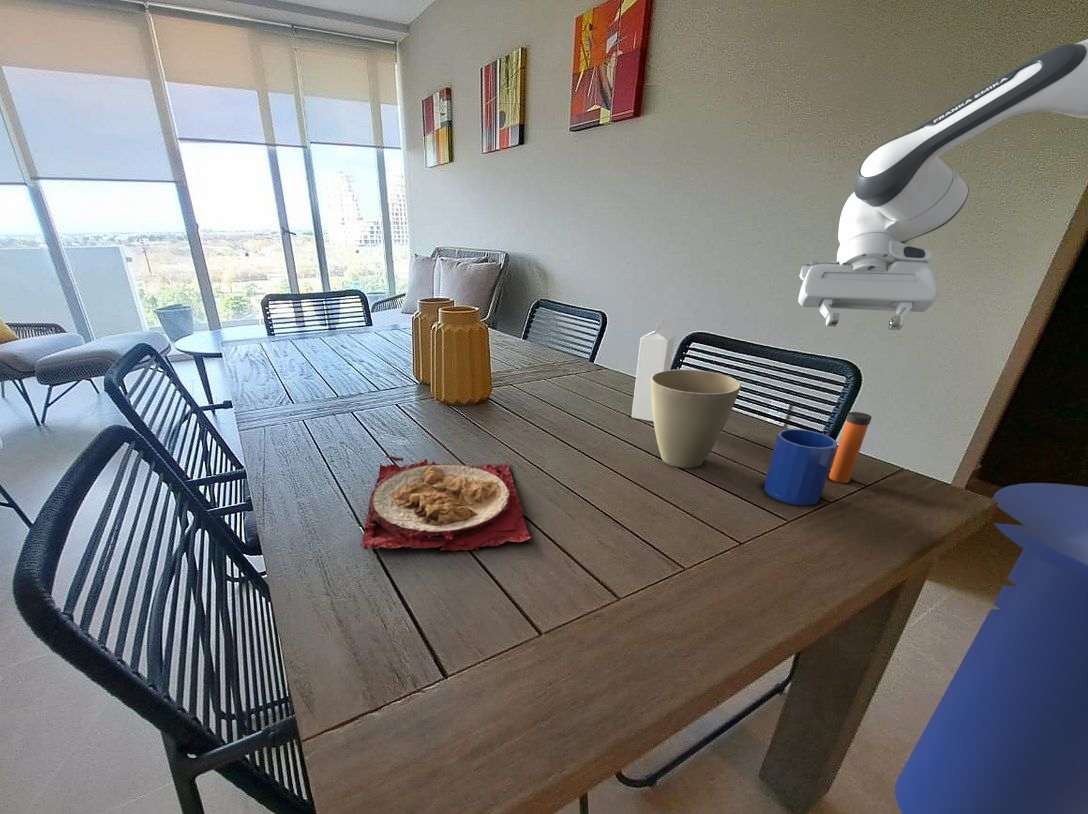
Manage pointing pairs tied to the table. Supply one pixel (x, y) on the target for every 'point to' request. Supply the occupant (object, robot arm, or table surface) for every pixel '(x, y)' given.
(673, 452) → the plant pot
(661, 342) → the milk
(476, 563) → the table surface
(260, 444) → the table surface
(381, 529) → the plate with food
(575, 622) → the table surface
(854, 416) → the orange tube bottle
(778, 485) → the cup
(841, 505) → the table surface
